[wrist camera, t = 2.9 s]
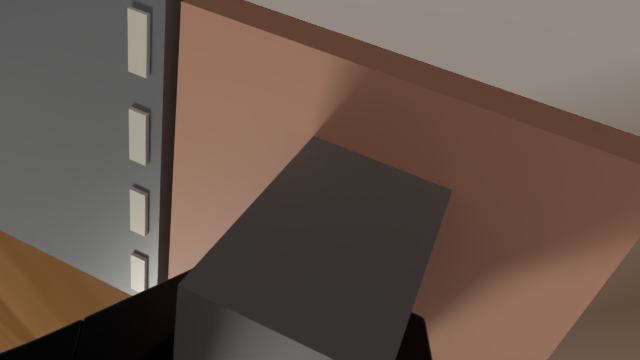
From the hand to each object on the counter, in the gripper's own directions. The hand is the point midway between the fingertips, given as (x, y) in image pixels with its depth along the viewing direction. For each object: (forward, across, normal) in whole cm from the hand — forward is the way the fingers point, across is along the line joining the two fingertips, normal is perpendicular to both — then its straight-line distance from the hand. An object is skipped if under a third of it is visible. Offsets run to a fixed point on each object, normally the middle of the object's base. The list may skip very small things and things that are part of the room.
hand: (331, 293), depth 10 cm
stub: (+2, 0, 0) cm, 2 cm away
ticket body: (+2, +9, 0) cm, 9 cm away
